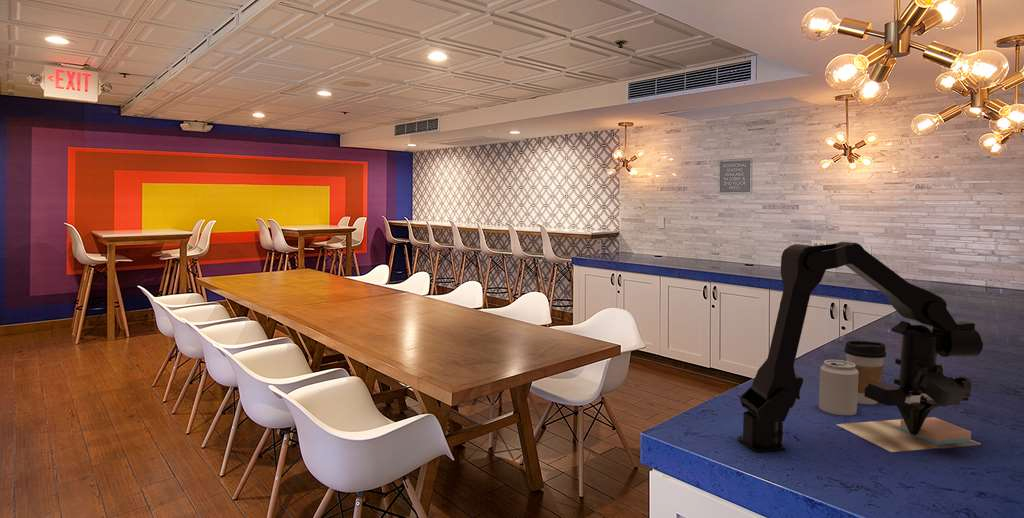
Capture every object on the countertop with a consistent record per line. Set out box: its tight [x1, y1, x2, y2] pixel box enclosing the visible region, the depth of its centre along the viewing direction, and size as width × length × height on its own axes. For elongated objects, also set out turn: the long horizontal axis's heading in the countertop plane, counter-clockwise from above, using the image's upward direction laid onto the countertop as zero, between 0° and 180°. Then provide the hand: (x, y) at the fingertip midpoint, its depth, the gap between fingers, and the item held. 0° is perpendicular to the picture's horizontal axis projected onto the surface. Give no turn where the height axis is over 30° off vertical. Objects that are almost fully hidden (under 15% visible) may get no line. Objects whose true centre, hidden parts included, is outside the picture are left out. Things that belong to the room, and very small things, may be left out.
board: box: [836, 418, 982, 453], centre depth 116 cm, size 20×14×1 cm
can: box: [818, 359, 859, 416], centre depth 130 cm, size 8×8×12 cm
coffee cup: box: [843, 340, 887, 405], centre depth 136 cm, size 8×8×15 cm
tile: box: [900, 416, 972, 445], centre depth 115 cm, size 2×8×8 cm
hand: (913, 434), depth 114 cm, fingers closed
